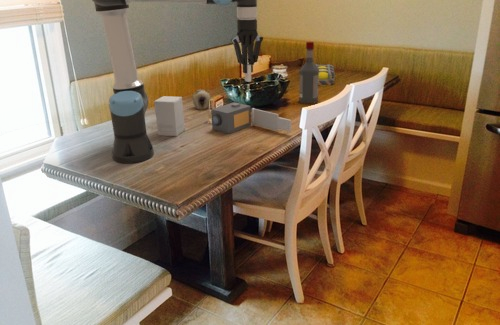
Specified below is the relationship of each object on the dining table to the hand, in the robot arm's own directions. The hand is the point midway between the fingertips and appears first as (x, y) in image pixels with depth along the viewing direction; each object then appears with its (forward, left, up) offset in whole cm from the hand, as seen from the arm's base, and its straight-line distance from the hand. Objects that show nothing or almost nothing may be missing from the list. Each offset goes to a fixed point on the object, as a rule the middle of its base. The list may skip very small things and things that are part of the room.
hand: (248, 81), depth 177 cm
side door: (+11, -2, -23) cm, 25 cm away
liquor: (+58, +12, -23) cm, 64 cm away
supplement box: (-18, +29, -23) cm, 41 cm away
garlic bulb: (+16, +47, -23) cm, 55 cm away
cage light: (+103, +34, -23) cm, 111 cm away
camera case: (+3, +14, -23) cm, 27 cm away
